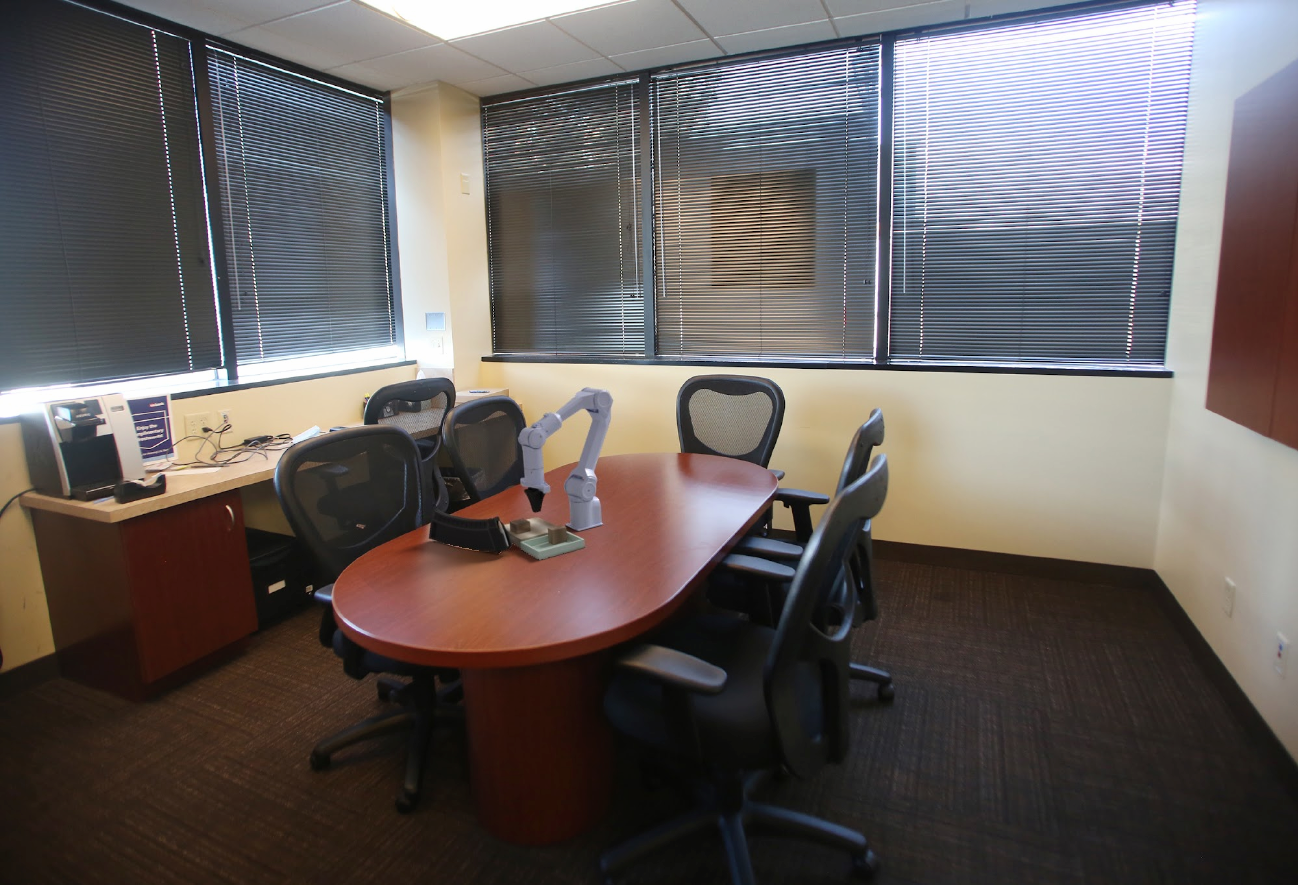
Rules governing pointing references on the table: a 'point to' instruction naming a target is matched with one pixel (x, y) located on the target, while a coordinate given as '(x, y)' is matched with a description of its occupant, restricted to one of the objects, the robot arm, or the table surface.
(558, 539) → the walnut block
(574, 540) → the box
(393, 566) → the table surface
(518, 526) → the walnut block
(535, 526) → the maple board
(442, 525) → the magazine
